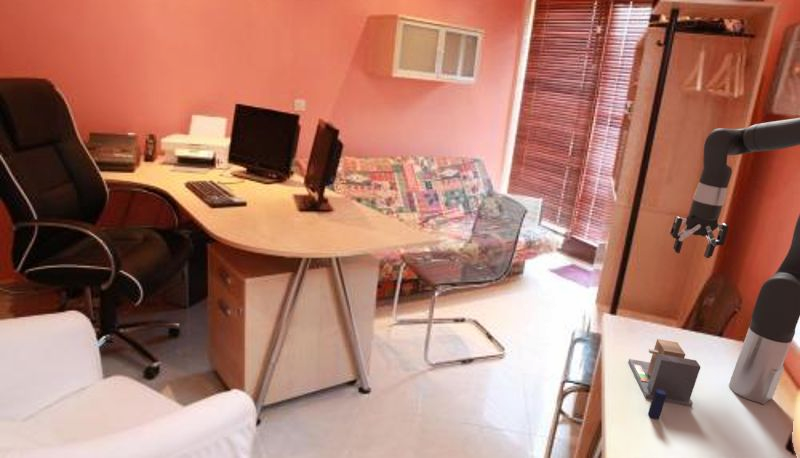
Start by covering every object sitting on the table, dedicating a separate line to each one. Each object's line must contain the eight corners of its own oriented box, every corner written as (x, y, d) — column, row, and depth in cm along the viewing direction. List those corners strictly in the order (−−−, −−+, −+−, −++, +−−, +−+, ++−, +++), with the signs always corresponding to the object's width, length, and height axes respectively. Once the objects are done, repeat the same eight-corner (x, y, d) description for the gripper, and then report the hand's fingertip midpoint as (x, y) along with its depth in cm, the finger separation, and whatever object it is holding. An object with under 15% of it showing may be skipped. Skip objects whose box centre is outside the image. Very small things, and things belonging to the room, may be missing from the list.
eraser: (656, 414, 127) (664, 389, 125) (659, 420, 125) (667, 395, 123) (647, 412, 127) (654, 387, 125) (650, 418, 125) (657, 393, 123)
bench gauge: (628, 362, 149) (638, 326, 145) (669, 369, 148) (680, 333, 144) (645, 398, 133) (657, 359, 129) (691, 406, 132) (705, 367, 128)
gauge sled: (638, 370, 142) (648, 337, 139) (666, 376, 142) (677, 342, 138) (644, 383, 137) (655, 349, 134) (674, 389, 136) (685, 354, 133)
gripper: (686, 199, 148) (670, 255, 153) (741, 207, 146) (723, 263, 151) (677, 193, 155) (662, 246, 160) (729, 201, 153) (712, 254, 158)
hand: (691, 254), depth 156 cm, fingers open, 8 cm apart
